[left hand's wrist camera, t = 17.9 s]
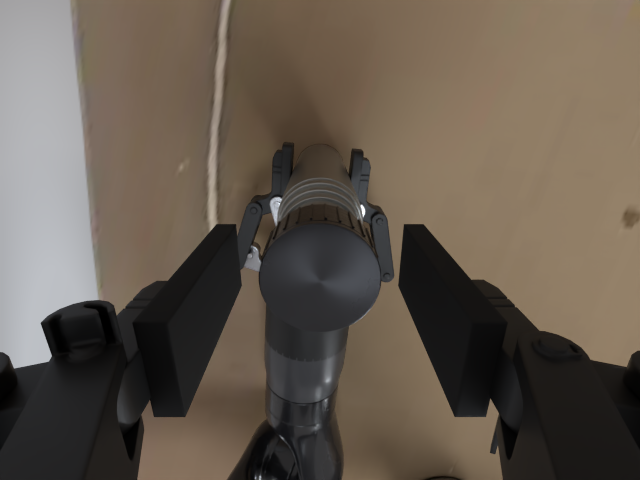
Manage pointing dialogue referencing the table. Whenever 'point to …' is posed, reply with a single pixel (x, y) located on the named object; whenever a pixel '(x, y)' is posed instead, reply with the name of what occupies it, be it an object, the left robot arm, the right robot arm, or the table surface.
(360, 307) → the cap
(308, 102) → the table surface
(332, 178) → the bottle
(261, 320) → the table surface
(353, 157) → the right robot arm
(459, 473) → the table surface
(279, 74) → the table surface
